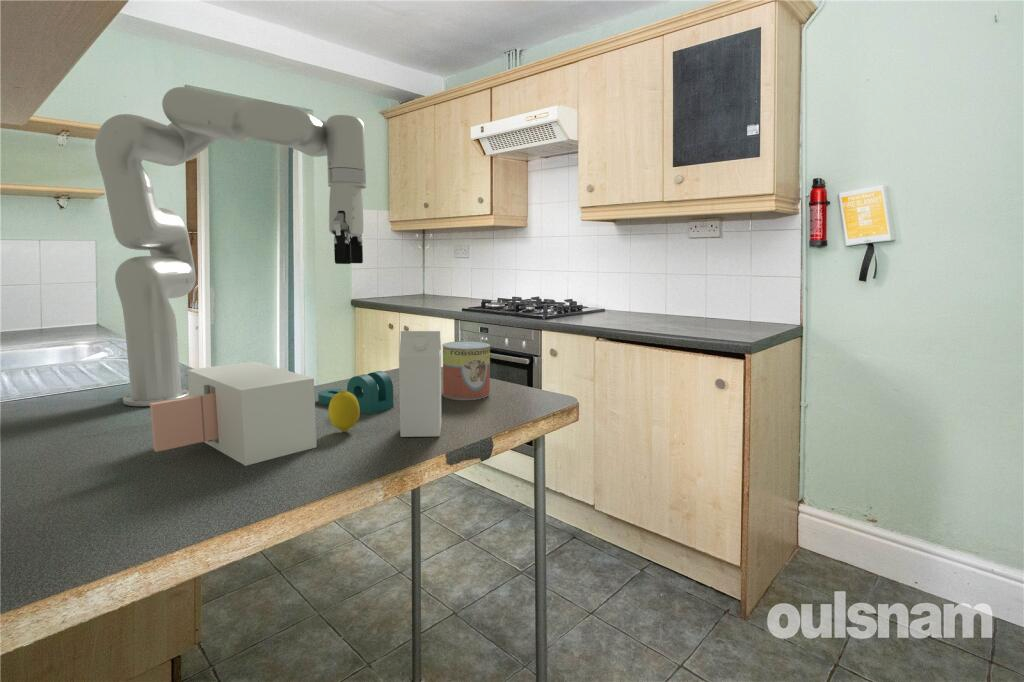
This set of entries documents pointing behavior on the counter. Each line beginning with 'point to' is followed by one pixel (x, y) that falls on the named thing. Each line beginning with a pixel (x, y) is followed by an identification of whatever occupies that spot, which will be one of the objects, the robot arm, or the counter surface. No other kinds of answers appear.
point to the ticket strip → (184, 421)
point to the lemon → (344, 410)
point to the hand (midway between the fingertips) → (349, 263)
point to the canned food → (466, 370)
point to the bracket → (366, 392)
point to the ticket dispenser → (258, 410)
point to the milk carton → (420, 383)
